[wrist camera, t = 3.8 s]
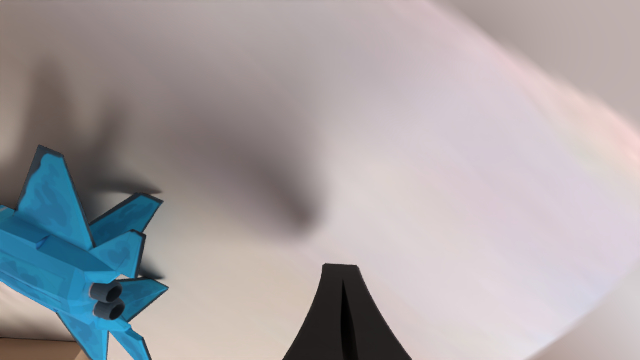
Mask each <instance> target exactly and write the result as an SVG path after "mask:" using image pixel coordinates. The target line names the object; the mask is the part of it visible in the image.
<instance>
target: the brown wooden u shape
mask: <svg viewBox="0 0 640 360" xmlns="http://www.w3.org/2000/svg"><path fill="white" fill-rule="evenodd" d="M0 360H91V359H89V358H88V357H87V356H86V354H85V353H84V352H83V350H82V349H81V347H80V346H79V345H78V343H77V342H66V341H48V340H30V339H11V338H0Z"/></svg>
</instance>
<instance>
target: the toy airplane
mask: <svg viewBox="0 0 640 360" xmlns="http://www.w3.org/2000/svg"><path fill="white" fill-rule="evenodd" d="M163 202H164V201H163V200H161V199H158V198H156V197H153V196H151V195H148V194H145V193H135V194H133V195H132V196H130V197H129V198H127V199H126V200H124V201H123V202H121V203H120V204H118V205H116V206H115V207H113V208H112V209H110V210H109V211H107V212H106V213H104V214H103V215H101V216H100V217H98V218H97V219H95V220H94V221H92V222H91V223H89V224H88V222H87V219H86V216H85V214H84V211H83V208H82V205H81V203H80V200H79V197H78V194H77V192H76V189H75V186H74V183H73V181H72V178H71V175H70V172H69V170H68V167H67V164H66V161H65V159H64V156H63V155H62V154H61V153H59V152H56V151H54V150H51V149H49V148H47V147H44V146H42V145H38V147H37V150H36V153H35V156H34V158H33V161H32V164H31V167H30V169H29V172H28V175H27V178H26V180H25V183H24V186H23V189H22V191H21V194H20V197H19V200H18V202H17V205H16V208H15V210H13V209H11V208H8V207H6V206H4V205H1V204H0V281H1V282H3V283H5V284H6V285H7V286H9V287H11V288H12V289H14V290H15V291H17V292H19V293H21V294H23V295H25V296H27V297H28V298H30V299H32V300H34V301H36V302H38V303H39V304H41V305H43V306H45V307H47V308H49V309H50V310H52V311H54V312H56V314H57V315H58V317H59V318H60V319H61V321H62V322H63V324H64V325H65V326H66V328H67V329H68V331H69V332H70V333H71V335H72V336H73V338H74V339H75V340H76V342H77V343H78V345H79V346H80V347H81V349H82V350H83V352H84V353H85V354H86V356H87V357H88V358H89V359H91V360H107V352H108V340H109V331H110V333H111V334H112V335H113V336H114V337H115V338H116V339H117V341H118V342H119V343H120V344H121V345H122V346H123V347H124V348H125V350H126V351H127V352H128V353H129V354H130V355H131V356H132V358H133V359H134V360H152V359H151V356H150V354H149V351H148V348H147V346H146V343H145V340H144V338H143V337H142V336H140V335H139V334H138V333H136V332H135V331H133V330H132V328H131V325H130V324H129V323H128V322H129V321H131V320H132V319H133V318H134V317H135V316H137V315H138V314H139V313H140V312H141V311H143V310H144V309H145V308H146V307H147V306H149V305H150V304H151V303H152V302H153V301H155V300H156V299H157V298H158V297H160V296H161V295H162V294H163V293H164V292H166V291H167V290H168V288H169V287H168V286H166V285H164V284H162V283H160V282H158V281H156V280H153V279H150V278H146V277H139V278H137V277H138V273H139V268H140V263H141V258H142V253H143V249H144V244H145V239H146V235H145V234H143V231H144V230H145V228H146V227H147V225H148V223H149V222H150V220H151V219H152V217H153V216H154V214H155V212H156V211H157V209H158V208H159V206H160V205H161V204H162V203H163ZM120 274H123V275H125V276H127V277H129V279H119V280H116V279H115V278H116V277H118V276H119V275H120Z"/></svg>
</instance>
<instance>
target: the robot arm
mask: <svg viewBox="0 0 640 360" xmlns="http://www.w3.org/2000/svg"><path fill="white" fill-rule="evenodd" d="M282 360H412V359H411V357H410V356H409V355H408V354H407V352H406V351H405V350H404V348H403V347H402V345H401V344H400V343H399V341H398V340H397V338H396V337H395V336H394V334H393V332H392V331H391V329H390V328H389V326H388V325H387V323H386V322H385V320H384V318H383V317H382V315H381V313H380V311H379V310H378V308H377V306H376V304H375V302H374V301H373V299H372V297H371V295H370V293H369V291H368V289H367V287H366V285H365V282H364V280H363V278H362V275H361V273H360V270H359V267H358V266H357V265H345V264H328V263H325V264H324V265H322V274H321V279H320V282H319V286H318V289H317V292H316V295H315V297H314V300H313V303H312V305H311V307H310V310H309V312H308V314H307V316H306V318H305V321H304V323H303V325H302V327H301V329H300V331H299V332H298V334H297V336H296V338H295V340H294V341H293V343H292V345H291V347H290V348H289V350H288V351H287V353H286V355H285V356H284V358H283V359H282Z"/></svg>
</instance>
